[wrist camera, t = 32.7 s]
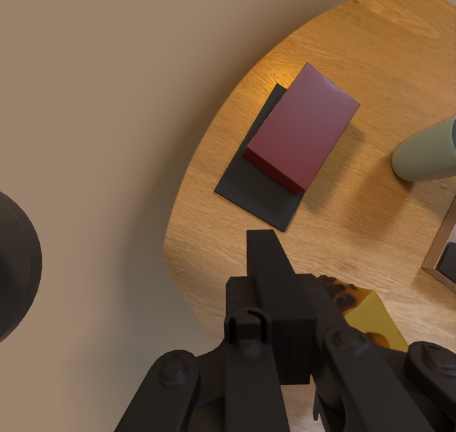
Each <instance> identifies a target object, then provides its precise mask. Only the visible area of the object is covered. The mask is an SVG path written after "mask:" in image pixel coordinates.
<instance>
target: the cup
mask: <svg viewBox="0 0 456 432" xmlns="http://www.w3.org/2000/svg"><path fill="white" fill-rule="evenodd" d="M391 163H392V168H393V170H394V172H395V174H396V175H397V176H398V177H400V178H401V179H404V180H406V181H412V182H423V181H431V180H437V179H442V178H447V177H452V176H456V115H453V116H451V117H449V118H446V119H444V120H442V121H440V122H438V123H436V124H433V125H431V126H429V127H427V128H425V129H423V130H421V131H419V132H417V133H415V134H413V135H412V136H410V137H408V138H407V139H405V140H404V141H402V142H401V143H400V144H399V145H398V146H397V147H396V148H395V149H394V151H393V154H392V158H391Z"/></svg>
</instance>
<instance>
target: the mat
mask: <svg viewBox="0 0 456 432" xmlns="http://www.w3.org/2000/svg"><path fill="white" fill-rule="evenodd" d="M286 91H287V89H285V88H284V87H282V86H281V85H279V84H278V83H277V84H276V86H275V87H274V89H273V91H272V93H271V94H270V96H269V98H268V99H267V101H266V103H265V105H264V106H263V108H262V110H261V111H260V113H259V115H258V117H257V118H256V120H255V122H254V123H253V125H252V127H251V129H250V130H249V132H248V134H247V135H246V137H245V139H244V141H243V142H242V144H241V146H240V147H239V149H238V151H237V153H236V154H235V156H234V158H233V159H232V161H231V163H230V165H229V166H228V168H227V170H226V171H225V173H224V175H223V177H222V178H221V180H220V182H219V183H218V185H217V187H216V189H215V190H214V192H216V193H218V194H219V195H221V196H223V197H225V198H226V199H228V200H230V201H231V202H233V203H235V204H236V205H238V206H240V207H242V208H243V209H245V210H247V211H248V212H250V213H252V214H253V215H255V216H257V217H258V218H260V219H262V220H264V221H265V222H267V223H269V224H270V225H272V226H274V227H275V228H277V229H279V230H281V231H282V232H285V230H286V228H287V226H288V224H289V222H290V220H291V218H292V216H293V214H294V213H295V211H296V209H297V207H298V205H299V203H300V201H301V199H302V197H303V195H304V193H305V191H304V192H301V193H299V194H296V195H294V194H293V193H291V192H290V191H288V190H287V189H286V188H284V187H283V186H282V185H280V184H279V183H278V182H276V181H275V180H274V179H272V178H271V177H269V176H268V175H267V174H265V173H264V172H263V171H261V170H260V169H259V168H257V167H256V166H255V165H253V164H252V163H250V162H249V161H248V160H246V159H245V158H244V157H242V154H243V152H244V151H245V149H246V147H247V146H248V144H249V143H250V142H251V140H252V139H253V137H254V136H255V135H256V133H257V132H258V130H259V129H260V127H261V126H262V125H263V123H264V122H265V120H266V119H267V118H268V116H269V115H270V113H271V112H272V111H273V109H274V108H275V106H276V105H277V104H278V102H279V101H280V99H281V98H282V97H283V95H284V94H285V92H286Z"/></svg>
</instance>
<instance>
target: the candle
mask: <svg viewBox="0 0 456 432" xmlns="http://www.w3.org/2000/svg"><path fill="white" fill-rule="evenodd" d="M318 279H319V280H320V281H321V282H322V284H323V285H324V287H325V288H326V291H327V292H328V293H329V295H330V297H331V298H332V299H333V301H334V302H335V304H336V306H337V307H338V309H339V310H340V312H341V313H342V315H343V316H344V318H345V319H346V321H347V323H348V324H349V326H351V327H354V328H356V329H358V330H360V331H361V332H363V333H364V334H365V335H366V336H367V337H368V338H369V339H370V340H371V341H372V342H373V344H375V345H378V346H382V347H385V348H390V349H394V350H398V351H403V352H407V351H408V348H409V345H408V344H407V342H406V341H405V339H404V338H403V336H402V335H401V333H400V331H399V330H398V328H397V327H396V325H395V323H394V322H393V320H392V319H391V317H390V315H389V314H388V312H387V310H386V308H385V307H384V305H383V303H382V301H381V300H380V298H379V296H378V295H377V293H376V292H375V291H374V290H369V289H364V288H359V287H356V286H354V285H353V284H347V283H344V282H341V281H339V280H337V279H336V278H334V277H328V276H326V275H321V276H320V277H318Z"/></svg>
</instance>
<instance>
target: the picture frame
mask: <svg viewBox="0 0 456 432" xmlns="http://www.w3.org/2000/svg"><path fill="white" fill-rule="evenodd" d="M421 267H422V268H423V269H424V270H426V271H427V272H428V273H430V274H431V275H432V276H434V277H435V278H436V279H438V280H439V281H440V282H442V283H443V284H444V285H446V286H447V287H448V288H450V289H451V290H452V291H454V292H455V293H456V197H455V199H454V201H453V203H452V205H451V207H450V209H449V211H448V214H447V216H446V218H445V220H444V222H443V224H442V226H441V228H440V230H439V232H438V234H437V236H436V238H435V240H434V242H433V244H432V246H431V248H430V250H429V252H428V254H427V256H426V258H425V260H424V262H423V264H422V266H421Z"/></svg>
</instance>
